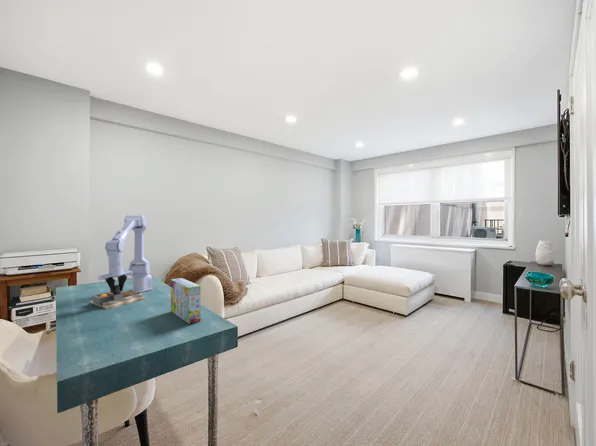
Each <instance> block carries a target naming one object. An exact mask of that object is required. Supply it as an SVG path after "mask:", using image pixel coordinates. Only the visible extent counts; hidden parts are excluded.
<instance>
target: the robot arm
mask: <svg viewBox="0 0 596 446" xmlns="http://www.w3.org/2000/svg"><path fill="white" fill-rule="evenodd" d="M123 220H124V224H123V226H122V228H121V229H120V230H119V229H118V231H116V233H115V235H114V236H113V237H112V238H111V239H109V240H108V241H107V242H105V247H104V249H105V251H106V256H107V257H108V259H107V260H108V273H107V274H106V273H105V274H102V275H98V276H97V277H98V281H103V280H105V282H106V284H107V286H108V287H109V290H110V291H111V293H115V288H114V285H116V284H115V283H116V279H114V278H117V282H118V285H120V292H123V290H124V286H125V283H126V281H127V279H128V276H131V277H132V289H131V290H132V293H135V292H140V293H143V292H146V291H152V290H154V287H153V277H152V275H151V274H150V272H151V266H150V265H151V264H150V261H149V260H148V259H146V258H145V231H146V230H147V229H148V218H147V217H146V215H144V214H143V215H142V214H141V215H140V214H139V215H126V216H125V217H124V219H123ZM131 231H133V232H134V245H133V246H134V251H133V253H134V255H133V256H134V257H133V260H132V261H130V263H129V267H128V270H125V271H124V269H123V264H124V263H123V251H124V250H125V245H126V242H127V240H128V239H129V236H130V234H129V233H130V232H131Z"/></svg>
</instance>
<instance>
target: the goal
mask: <svg viewBox="0 0 596 446" xmlns="http://www.w3.org/2000/svg"><path fill="white" fill-rule="evenodd" d="M107 293H108V292H103V293H98V294H93V295H92V294H91V301H92V302H93V303H95V304H98V305H103V303H104V302H108V301H112V300H111V296H106V297H102V298H101V297H100V295H102V294H107ZM95 304H94V305H95Z"/></svg>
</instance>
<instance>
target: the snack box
mask: <svg viewBox="0 0 596 446" xmlns="http://www.w3.org/2000/svg"><path fill="white" fill-rule="evenodd" d="M201 294H202V293H201V285H199V284H198V283H196V282H195V283H194V282H193V281H190V280H187V279H185V278H183V277H179V278H173V279H170V308H171V309H170V312H172V314H174V315H175V316H176V317H179V318H180V319H181V320H183V321H184V322H185V323H187V324H188V325H191V323H192V324H195V322H196V323H200V322H201V321H202V320H201V319H202V318H201V315H202V314H201V313H202V312H201V308H202V307H201V305H202V302H201ZM199 321H200V322H199Z"/></svg>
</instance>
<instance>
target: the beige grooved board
mask: <svg viewBox="0 0 596 446" xmlns="http://www.w3.org/2000/svg"><path fill="white" fill-rule="evenodd" d="M132 290H133V289H128V290H124V291H123V290H122V291H120V293H123V299H119V300H115V301H114V300H112V301H108V302H104V303H103V305H98V304H95V303H93V302H92V300H90V304H92V305H95V306H97V307H99V308H102V309H105V310H109V309H113V308H115V307H116V308H117V307H121V306H125V305H129V304H133V303H136V302H140V301H143V300H144V301H145V300H146V297H145V296H143V293H141V292H132Z"/></svg>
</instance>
